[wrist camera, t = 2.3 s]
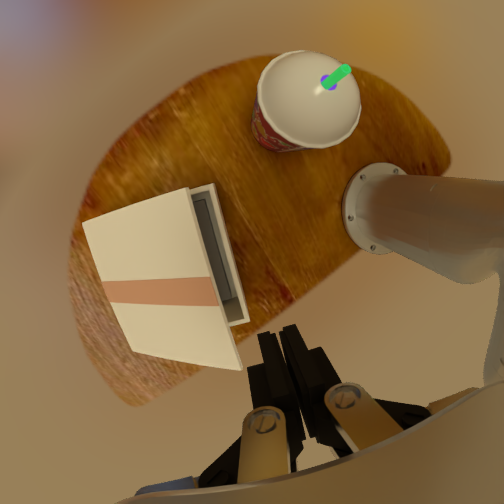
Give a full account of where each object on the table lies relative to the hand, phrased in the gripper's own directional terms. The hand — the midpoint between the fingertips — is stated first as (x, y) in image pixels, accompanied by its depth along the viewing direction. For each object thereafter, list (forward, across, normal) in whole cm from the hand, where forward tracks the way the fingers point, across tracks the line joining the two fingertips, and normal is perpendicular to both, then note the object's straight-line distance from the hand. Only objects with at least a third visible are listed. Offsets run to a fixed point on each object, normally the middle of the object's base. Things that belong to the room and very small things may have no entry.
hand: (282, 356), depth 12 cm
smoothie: (+24, -8, -12) cm, 28 cm away
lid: (+13, +9, 0) cm, 16 cm away
